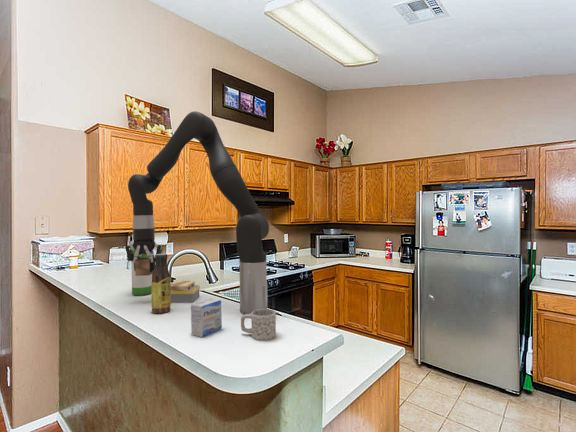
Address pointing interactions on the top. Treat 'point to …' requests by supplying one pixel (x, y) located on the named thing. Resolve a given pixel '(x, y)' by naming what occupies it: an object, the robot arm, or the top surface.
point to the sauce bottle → (161, 285)
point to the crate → (142, 267)
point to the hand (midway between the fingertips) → (144, 271)
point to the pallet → (181, 285)
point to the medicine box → (206, 317)
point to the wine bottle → (141, 281)
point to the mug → (261, 324)
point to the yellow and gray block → (186, 294)
